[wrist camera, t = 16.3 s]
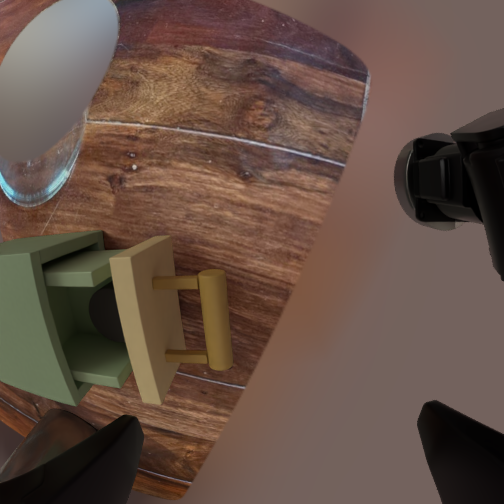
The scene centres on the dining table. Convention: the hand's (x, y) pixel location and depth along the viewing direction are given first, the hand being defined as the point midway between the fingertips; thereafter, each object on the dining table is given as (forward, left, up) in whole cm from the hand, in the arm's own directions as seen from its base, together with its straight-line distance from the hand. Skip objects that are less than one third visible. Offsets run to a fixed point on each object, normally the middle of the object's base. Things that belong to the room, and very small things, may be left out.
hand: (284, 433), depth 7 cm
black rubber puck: (+10, 0, -11) cm, 15 cm away
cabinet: (+17, 0, -13) cm, 22 cm away
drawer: (+9, 0, -12) cm, 15 cm away
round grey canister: (+23, +20, -13) cm, 33 cm away
